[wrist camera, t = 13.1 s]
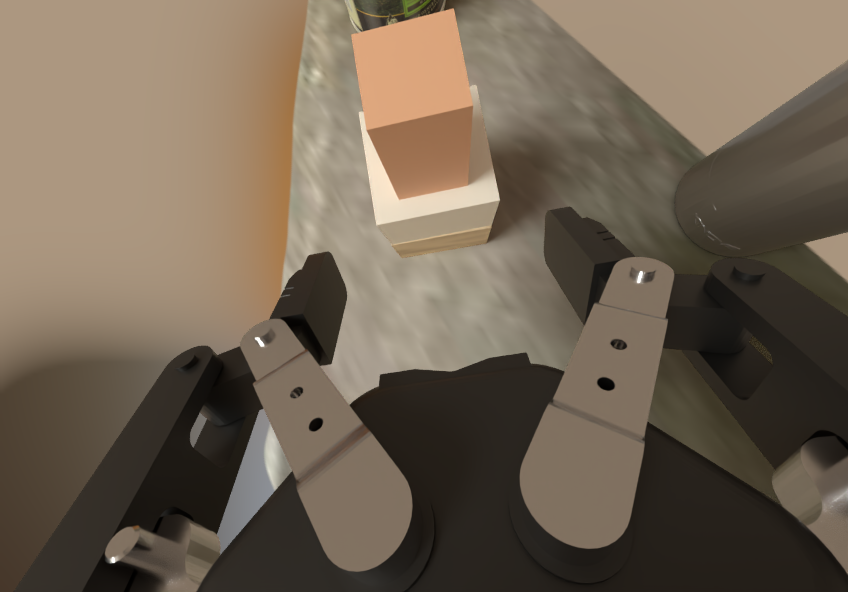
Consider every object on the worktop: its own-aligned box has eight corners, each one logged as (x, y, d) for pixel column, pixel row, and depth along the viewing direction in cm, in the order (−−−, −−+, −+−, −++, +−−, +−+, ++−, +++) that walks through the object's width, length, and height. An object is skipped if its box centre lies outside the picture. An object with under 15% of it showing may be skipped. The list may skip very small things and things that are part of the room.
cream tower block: (377, 152, 27) (358, 112, 22) (472, 130, 26) (476, 84, 21) (392, 244, 26) (376, 225, 21) (491, 225, 25) (499, 200, 20)
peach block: (388, 135, 21) (351, 34, 14) (455, 120, 21) (453, 8, 14) (398, 200, 21) (366, 130, 14) (467, 185, 21) (473, 105, 13)
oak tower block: (390, 179, 32) (378, 152, 27) (471, 163, 31) (474, 132, 26) (402, 258, 31) (391, 245, 26) (486, 244, 30) (491, 227, 25)
